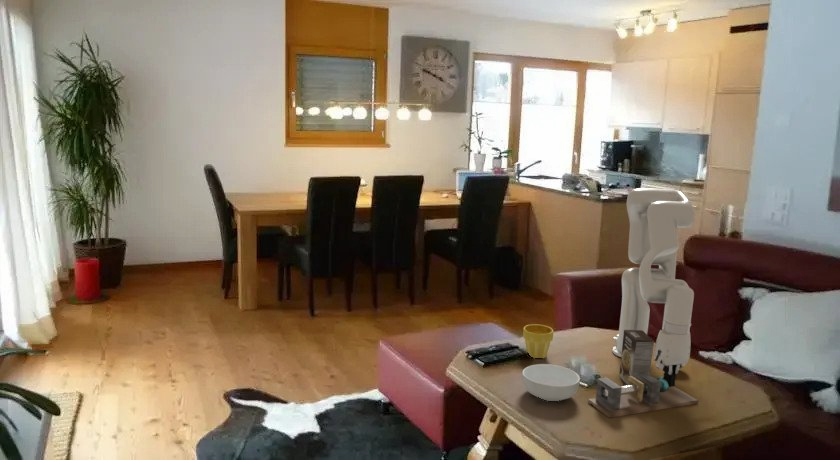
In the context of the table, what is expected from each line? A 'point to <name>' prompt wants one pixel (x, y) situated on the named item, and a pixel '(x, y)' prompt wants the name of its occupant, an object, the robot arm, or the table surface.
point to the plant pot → (537, 339)
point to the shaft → (634, 388)
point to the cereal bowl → (550, 381)
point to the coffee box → (635, 354)
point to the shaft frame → (637, 397)
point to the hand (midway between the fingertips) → (668, 384)
